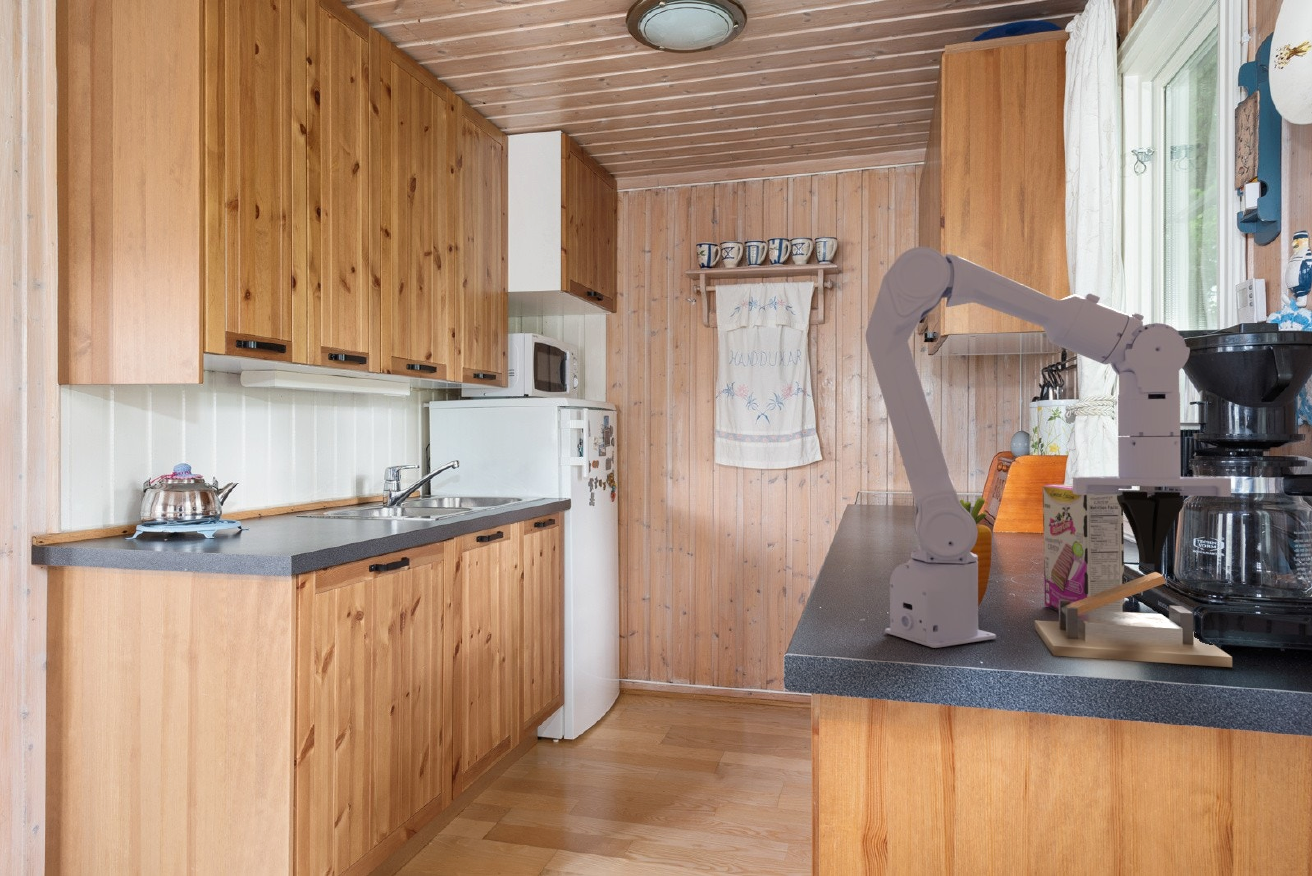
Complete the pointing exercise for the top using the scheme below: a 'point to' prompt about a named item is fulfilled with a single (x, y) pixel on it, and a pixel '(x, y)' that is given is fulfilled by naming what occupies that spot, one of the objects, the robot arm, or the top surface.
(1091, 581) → the candy bar box
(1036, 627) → the birch board
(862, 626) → the top surface
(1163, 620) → the stone
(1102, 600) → the copper strap
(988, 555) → the carrot
